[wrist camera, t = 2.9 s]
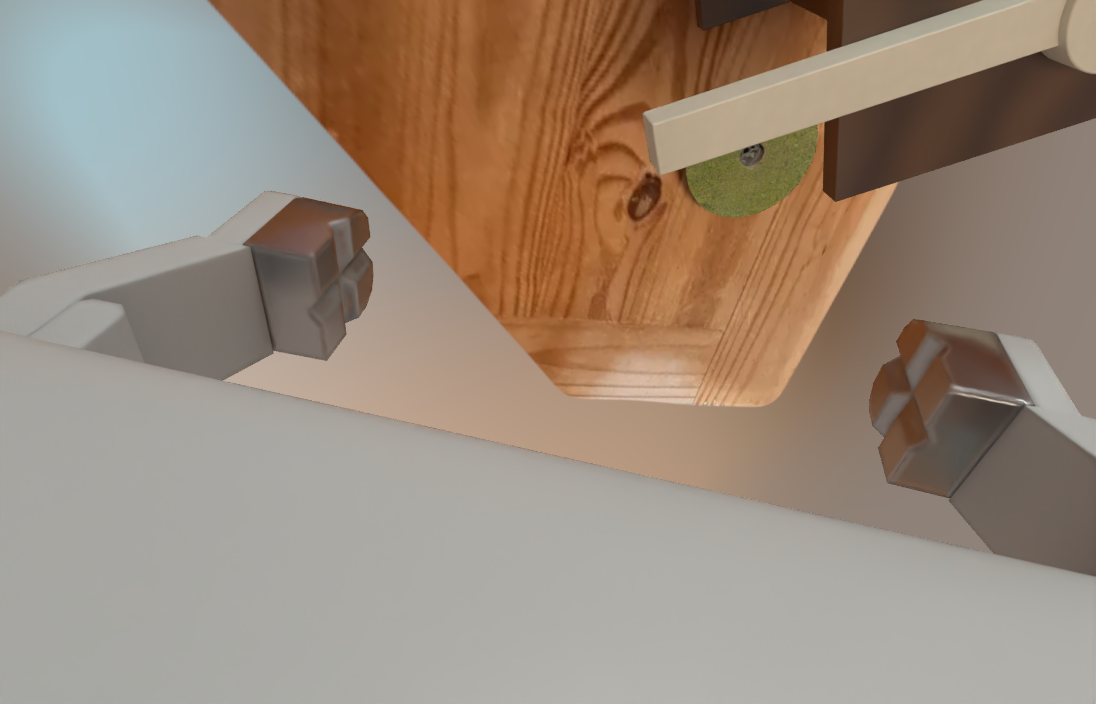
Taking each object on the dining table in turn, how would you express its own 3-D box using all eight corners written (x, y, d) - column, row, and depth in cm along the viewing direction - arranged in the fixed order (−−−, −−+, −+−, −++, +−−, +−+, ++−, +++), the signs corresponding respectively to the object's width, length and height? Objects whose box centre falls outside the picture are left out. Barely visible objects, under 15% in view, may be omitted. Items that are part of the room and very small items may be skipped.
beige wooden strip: (1200, -119, 24) (1248, -115, 23) (1147, 37, 28) (1186, 49, 26) (634, 69, 25) (648, 84, 23) (655, 197, 28) (668, 217, 27)
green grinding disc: (717, 230, 60) (725, 241, 59) (654, 142, 54) (661, 152, 52) (826, 151, 57) (837, 160, 56) (773, 46, 50) (785, 53, 49)
